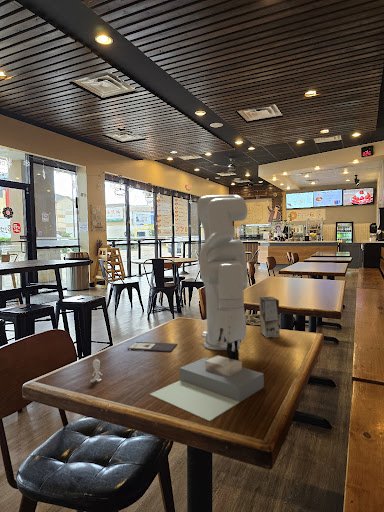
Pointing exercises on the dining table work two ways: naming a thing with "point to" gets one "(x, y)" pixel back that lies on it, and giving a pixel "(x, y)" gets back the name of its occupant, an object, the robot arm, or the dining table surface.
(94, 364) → the toy figurine
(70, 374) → the dining table surface
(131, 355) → the dining table surface
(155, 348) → the chocolate bar
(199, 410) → the sage mat
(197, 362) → the slate deck
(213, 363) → the cream tile
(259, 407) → the dining table surface
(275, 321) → the coffee box
